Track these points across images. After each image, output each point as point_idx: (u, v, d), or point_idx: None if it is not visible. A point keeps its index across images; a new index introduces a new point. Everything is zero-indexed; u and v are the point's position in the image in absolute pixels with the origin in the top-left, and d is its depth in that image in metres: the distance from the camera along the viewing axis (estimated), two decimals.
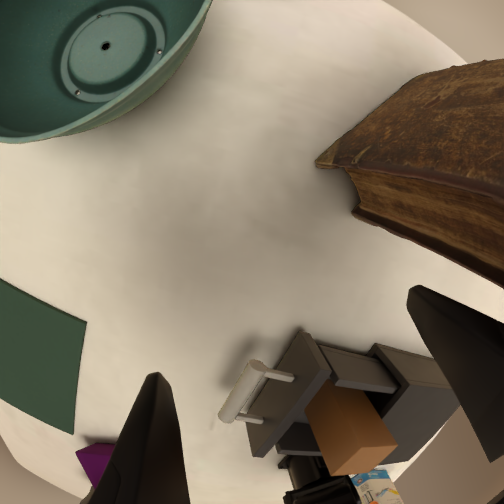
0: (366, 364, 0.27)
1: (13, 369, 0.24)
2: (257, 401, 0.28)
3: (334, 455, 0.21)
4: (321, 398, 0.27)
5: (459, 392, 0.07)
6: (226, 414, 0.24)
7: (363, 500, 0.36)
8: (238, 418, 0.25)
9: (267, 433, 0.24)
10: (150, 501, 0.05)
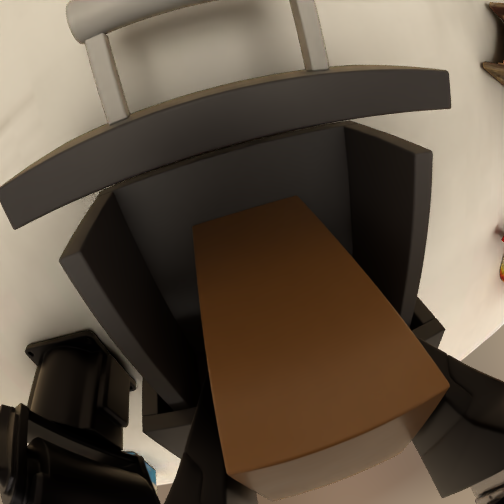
0: None
1: None
2: (134, 113, 0.10)
3: (283, 387, 0.05)
4: (273, 220, 0.11)
5: None
6: None
7: None
8: (94, 43, 0.06)
9: (115, 125, 0.06)
10: (234, 492, 0.05)
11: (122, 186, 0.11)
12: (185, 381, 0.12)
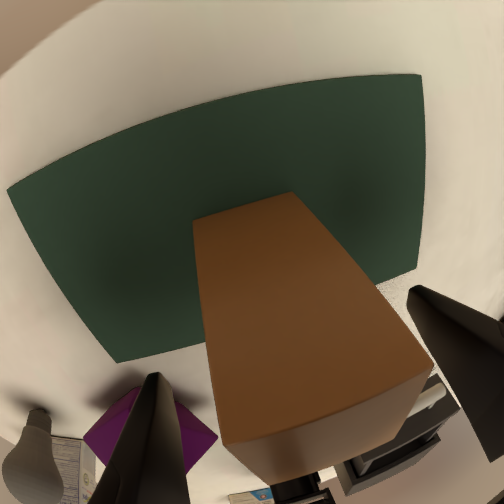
0: None
1: (198, 189, 0.12)
2: None
3: (276, 364, 0.06)
4: (269, 214, 0.11)
5: (459, 392, 0.07)
6: None
7: None
8: None
9: (392, 443, 0.23)
10: (150, 501, 0.05)
11: None
12: None
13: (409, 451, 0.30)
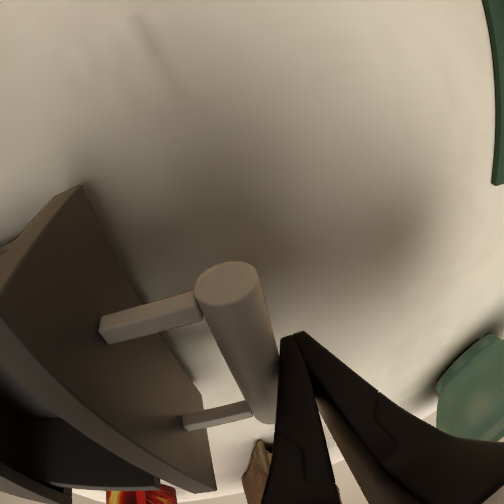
0: None
1: None
2: (117, 271, 0.09)
3: None
4: None
5: (343, 454, 0.07)
6: (257, 325, 0.07)
7: None
8: (190, 315, 0.07)
9: (101, 395, 0.06)
10: None
11: None
12: None
13: None
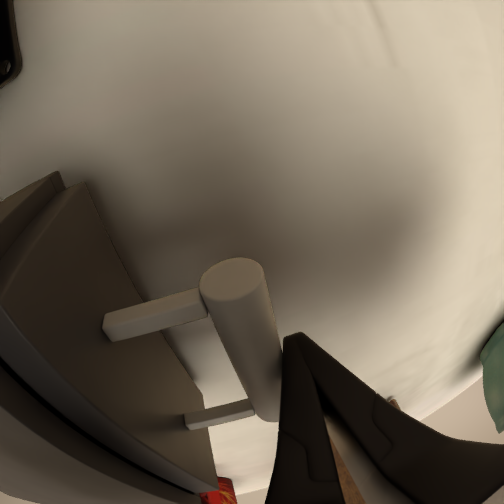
0: None
1: None
2: (119, 269, 0.09)
3: None
4: None
5: (341, 455, 0.07)
6: (262, 321, 0.07)
7: None
8: (195, 311, 0.07)
9: (106, 393, 0.06)
10: None
11: None
12: None
13: None
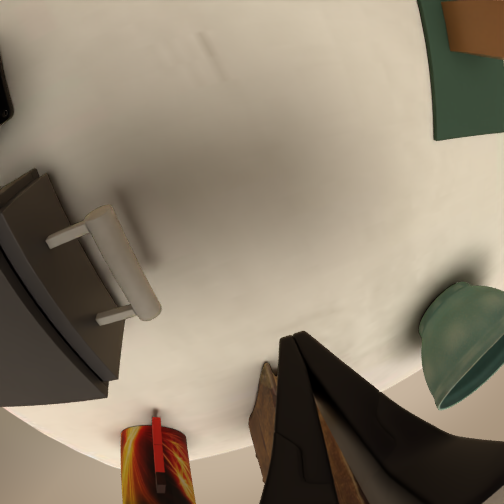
0: None
1: None
2: (64, 219, 0.16)
3: None
4: None
5: (344, 454, 0.07)
6: (110, 234, 0.13)
7: None
8: (83, 229, 0.13)
9: (39, 266, 0.12)
10: None
11: None
12: None
13: None
